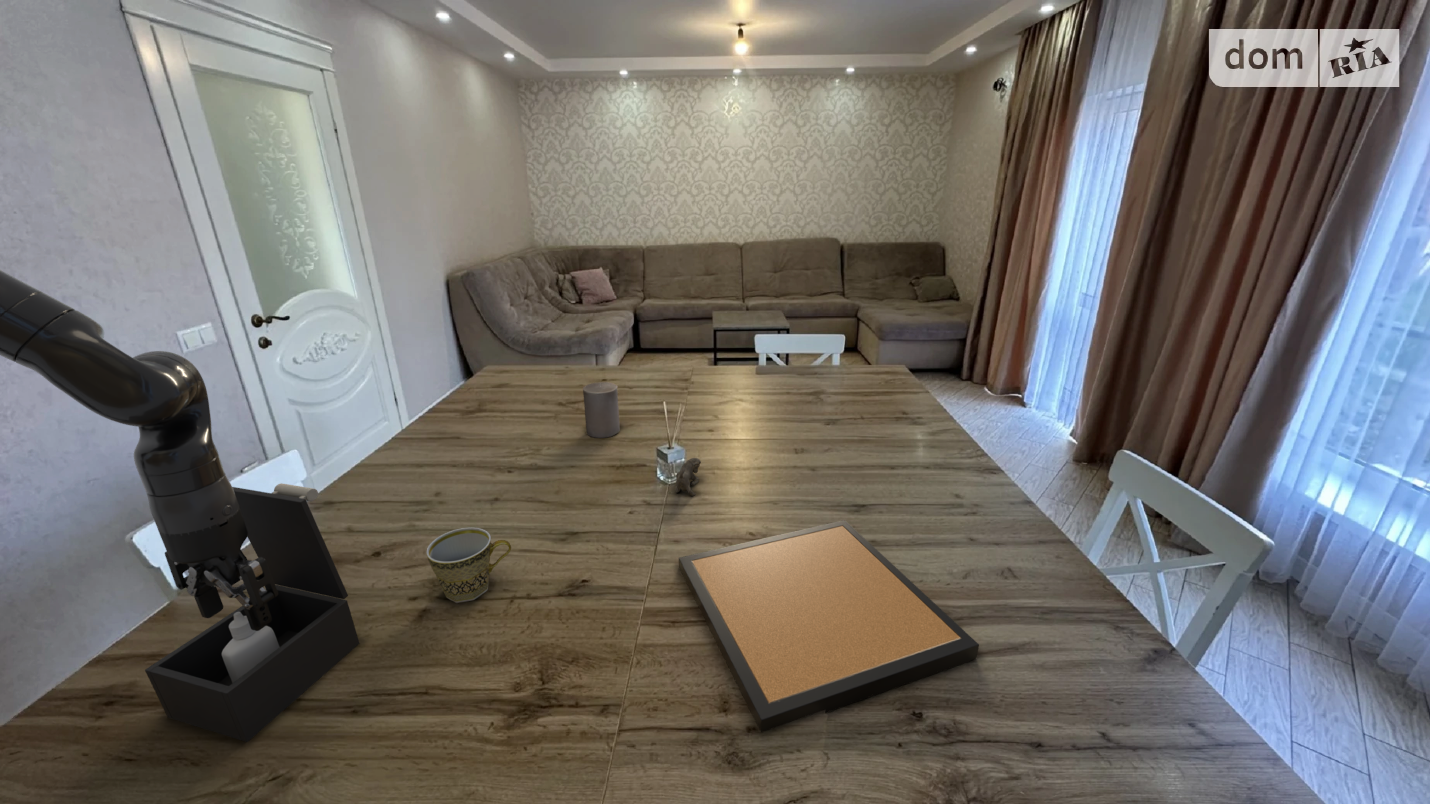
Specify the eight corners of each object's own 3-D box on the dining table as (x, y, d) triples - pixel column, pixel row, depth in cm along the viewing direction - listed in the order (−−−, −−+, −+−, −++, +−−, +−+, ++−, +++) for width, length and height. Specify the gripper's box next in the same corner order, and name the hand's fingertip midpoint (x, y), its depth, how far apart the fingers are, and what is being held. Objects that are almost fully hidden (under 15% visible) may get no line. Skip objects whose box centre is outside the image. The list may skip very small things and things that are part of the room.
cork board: (843, 531, 113) (678, 570, 101) (844, 519, 112) (678, 557, 100) (975, 659, 82) (760, 736, 70) (979, 644, 81) (761, 720, 69)
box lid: (300, 502, 73) (333, 480, 77) (222, 489, 76) (258, 468, 81) (344, 599, 81) (372, 574, 85) (271, 583, 84) (302, 560, 88)
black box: (249, 746, 69) (226, 693, 66) (169, 721, 72) (144, 669, 69) (360, 646, 84) (347, 600, 81) (290, 629, 88) (274, 584, 85)
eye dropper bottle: (237, 682, 77) (209, 614, 73) (286, 662, 80) (262, 595, 76) (238, 703, 74) (209, 633, 70) (289, 680, 77) (264, 612, 73)
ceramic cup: (431, 617, 90) (420, 567, 87) (442, 579, 99) (432, 531, 96) (515, 603, 93) (507, 553, 90) (518, 567, 102) (511, 520, 99)
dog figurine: (694, 501, 124) (694, 472, 121) (670, 498, 125) (669, 469, 123) (707, 476, 135) (706, 449, 132) (684, 474, 136) (683, 447, 134)
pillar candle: (585, 427, 164) (580, 379, 158) (618, 423, 166) (614, 376, 161) (588, 440, 155) (583, 390, 150) (622, 435, 158) (619, 386, 153)
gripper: (120, 522, 66) (166, 629, 71) (208, 540, 62) (250, 652, 68) (190, 492, 73) (227, 592, 78) (273, 507, 69) (306, 610, 75)
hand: (238, 619), depth 73 cm, fingers open, 8 cm apart
